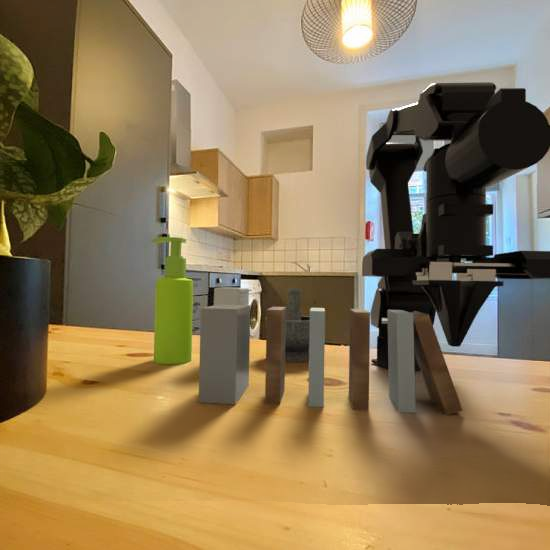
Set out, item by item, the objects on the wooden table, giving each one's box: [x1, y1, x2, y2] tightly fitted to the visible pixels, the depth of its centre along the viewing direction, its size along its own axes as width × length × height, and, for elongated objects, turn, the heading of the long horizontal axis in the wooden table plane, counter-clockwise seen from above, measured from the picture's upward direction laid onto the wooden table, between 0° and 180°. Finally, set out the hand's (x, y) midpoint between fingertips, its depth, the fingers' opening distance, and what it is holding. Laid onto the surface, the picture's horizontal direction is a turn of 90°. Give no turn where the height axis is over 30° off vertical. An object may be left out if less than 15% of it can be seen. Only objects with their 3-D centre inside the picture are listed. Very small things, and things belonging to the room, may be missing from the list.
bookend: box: [198, 304, 251, 405], centre depth 40 cm, size 4×7×10 cm, turn 173°
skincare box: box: [213, 287, 250, 306], centre depth 57 cm, size 6×4×12 cm
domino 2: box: [307, 307, 326, 408], centre depth 39 cm, size 2×5×10 cm, turn 172°
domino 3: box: [348, 308, 371, 411], centre depth 38 cm, size 2×5×10 cm, turn 173°
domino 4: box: [387, 310, 416, 413], centre depth 38 cm, size 2×5×10 cm, turn 173°
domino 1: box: [264, 306, 287, 405], centre depth 39 cm, size 2×5×10 cm, turn 173°
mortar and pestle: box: [264, 287, 310, 363], centre depth 61 cm, size 11×9×12 cm
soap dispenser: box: [150, 236, 194, 365], centre depth 57 cm, size 6×7×20 cm
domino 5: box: [410, 311, 463, 416], centre depth 37 cm, size 2×5×10 cm, turn 172°
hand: (454, 345), depth 37 cm, fingers closed
